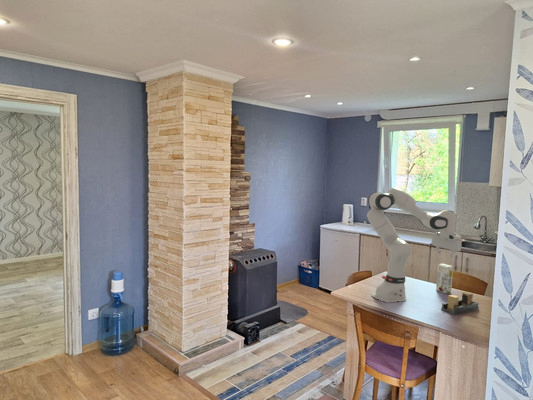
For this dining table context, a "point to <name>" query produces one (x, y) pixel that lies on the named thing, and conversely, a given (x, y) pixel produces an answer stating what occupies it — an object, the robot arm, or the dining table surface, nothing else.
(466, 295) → the brown wooden block
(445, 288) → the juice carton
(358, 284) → the dining table surface
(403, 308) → the dining table surface
